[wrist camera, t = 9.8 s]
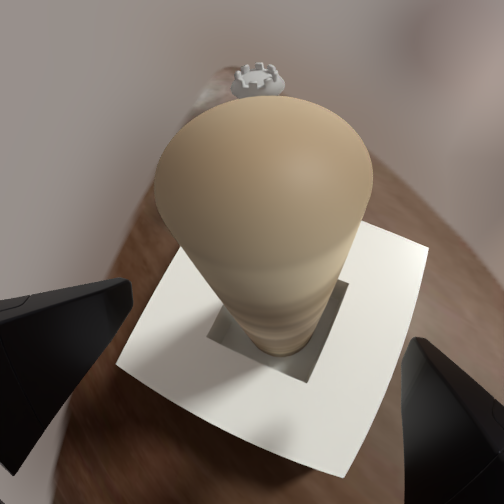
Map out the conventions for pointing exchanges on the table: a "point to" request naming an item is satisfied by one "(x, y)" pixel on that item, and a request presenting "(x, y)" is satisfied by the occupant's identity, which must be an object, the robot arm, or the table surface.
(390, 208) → the table surface
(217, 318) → the block
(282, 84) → the rook chess piece
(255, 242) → the peg
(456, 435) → the robot arm
